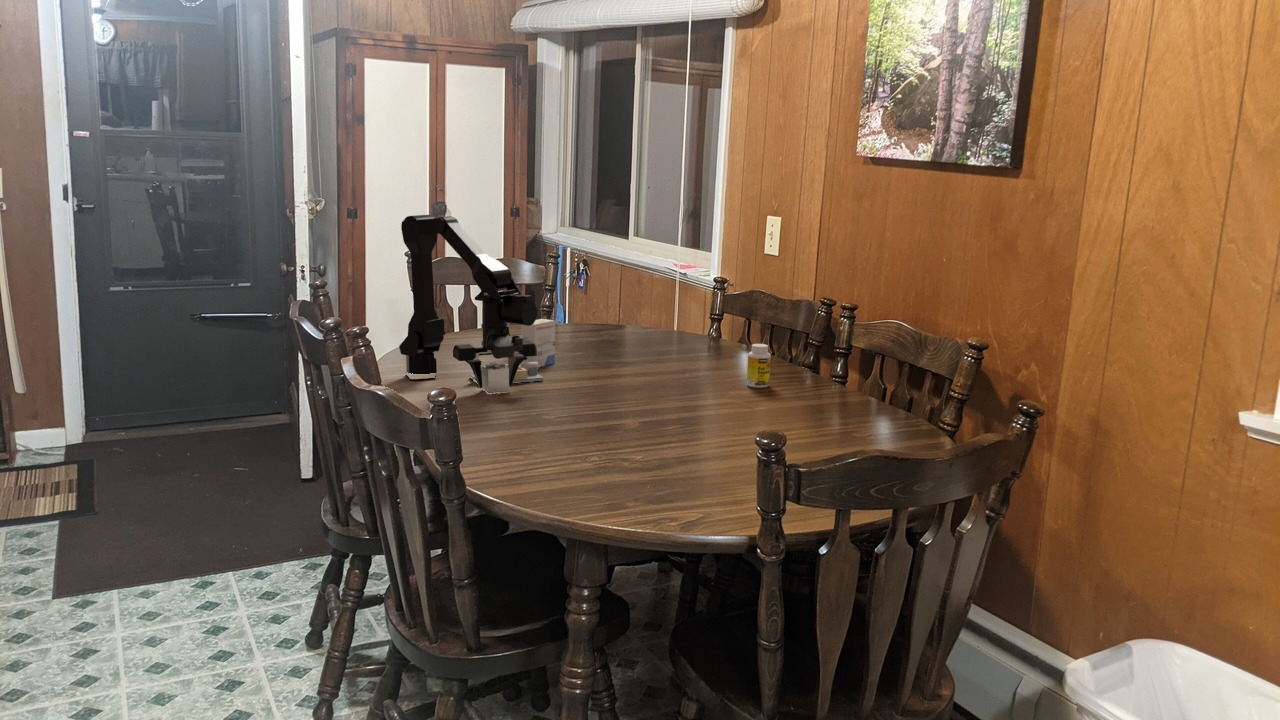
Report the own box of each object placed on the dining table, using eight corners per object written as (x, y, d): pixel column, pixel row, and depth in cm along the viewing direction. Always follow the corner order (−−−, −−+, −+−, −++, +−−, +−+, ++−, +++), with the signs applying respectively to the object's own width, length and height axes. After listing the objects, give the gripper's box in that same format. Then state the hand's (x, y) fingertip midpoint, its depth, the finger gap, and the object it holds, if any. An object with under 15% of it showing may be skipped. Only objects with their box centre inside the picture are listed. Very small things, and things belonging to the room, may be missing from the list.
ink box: (542, 361, 268) (542, 318, 266) (556, 363, 265) (556, 320, 263) (519, 366, 261) (519, 322, 259) (534, 369, 258) (534, 324, 256)
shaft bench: (480, 386, 239) (479, 370, 238) (469, 378, 247) (469, 362, 246) (543, 381, 245) (543, 365, 244) (531, 373, 253) (531, 358, 252)
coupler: (488, 395, 231) (488, 367, 230) (482, 390, 235) (481, 363, 234) (509, 393, 233) (508, 365, 232) (502, 388, 237) (502, 361, 236)
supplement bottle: (756, 389, 242) (758, 348, 240) (741, 384, 247) (743, 344, 245) (773, 386, 245) (776, 346, 243) (759, 382, 250) (761, 342, 248)
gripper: (464, 329, 220) (465, 398, 223) (544, 324, 227) (544, 391, 231) (451, 320, 229) (452, 386, 233) (529, 316, 237) (529, 380, 241)
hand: (495, 386), depth 234 cm, fingers open, 7 cm apart
